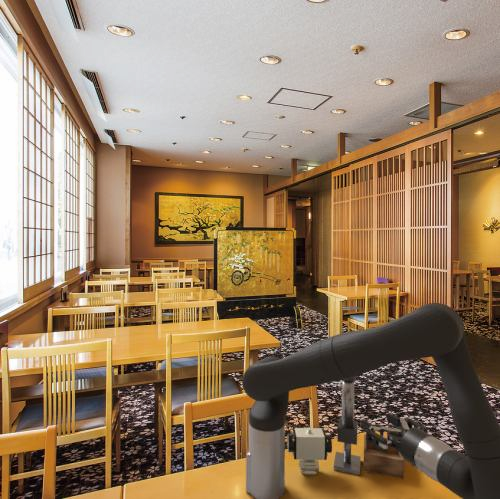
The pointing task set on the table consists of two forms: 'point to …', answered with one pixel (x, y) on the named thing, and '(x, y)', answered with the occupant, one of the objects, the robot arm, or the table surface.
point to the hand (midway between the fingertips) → (374, 419)
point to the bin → (383, 460)
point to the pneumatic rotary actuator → (309, 447)
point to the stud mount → (347, 461)
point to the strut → (348, 414)
